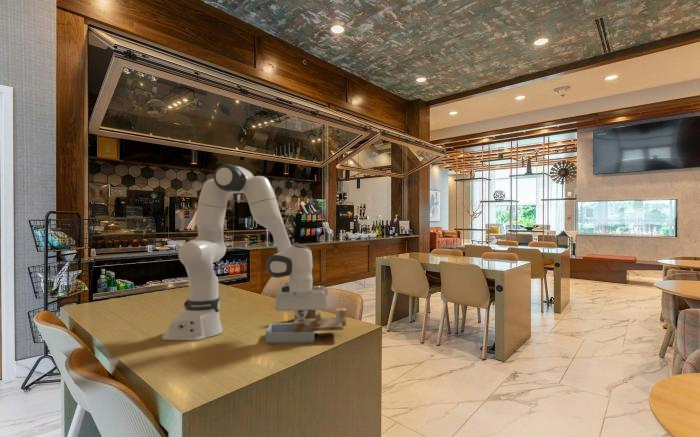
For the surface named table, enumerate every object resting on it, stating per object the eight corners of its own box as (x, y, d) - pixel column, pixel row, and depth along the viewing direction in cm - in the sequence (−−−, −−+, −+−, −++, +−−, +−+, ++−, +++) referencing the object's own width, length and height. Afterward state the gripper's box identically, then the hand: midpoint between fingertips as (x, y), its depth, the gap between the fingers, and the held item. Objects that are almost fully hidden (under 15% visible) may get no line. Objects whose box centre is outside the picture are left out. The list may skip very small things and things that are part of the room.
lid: (293, 331, 128) (293, 320, 128) (295, 322, 141) (294, 311, 141) (342, 329, 130) (342, 318, 130) (340, 320, 143) (340, 310, 143)
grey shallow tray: (265, 344, 127) (265, 333, 127) (269, 333, 139) (269, 323, 139) (314, 341, 129) (314, 331, 130) (314, 331, 141) (314, 322, 141)
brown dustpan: (309, 323, 153) (309, 283, 153) (294, 319, 160) (294, 280, 160) (316, 321, 156) (315, 282, 156) (300, 317, 163) (300, 279, 163)
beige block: (337, 325, 149) (336, 310, 150) (336, 322, 153) (336, 308, 154) (346, 325, 150) (346, 310, 150) (345, 322, 154) (345, 308, 154)
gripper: (327, 284, 139) (327, 318, 139) (276, 285, 137) (276, 319, 137) (328, 287, 133) (328, 322, 133) (274, 288, 131) (274, 324, 131)
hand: (301, 321), depth 135 cm, fingers closed
